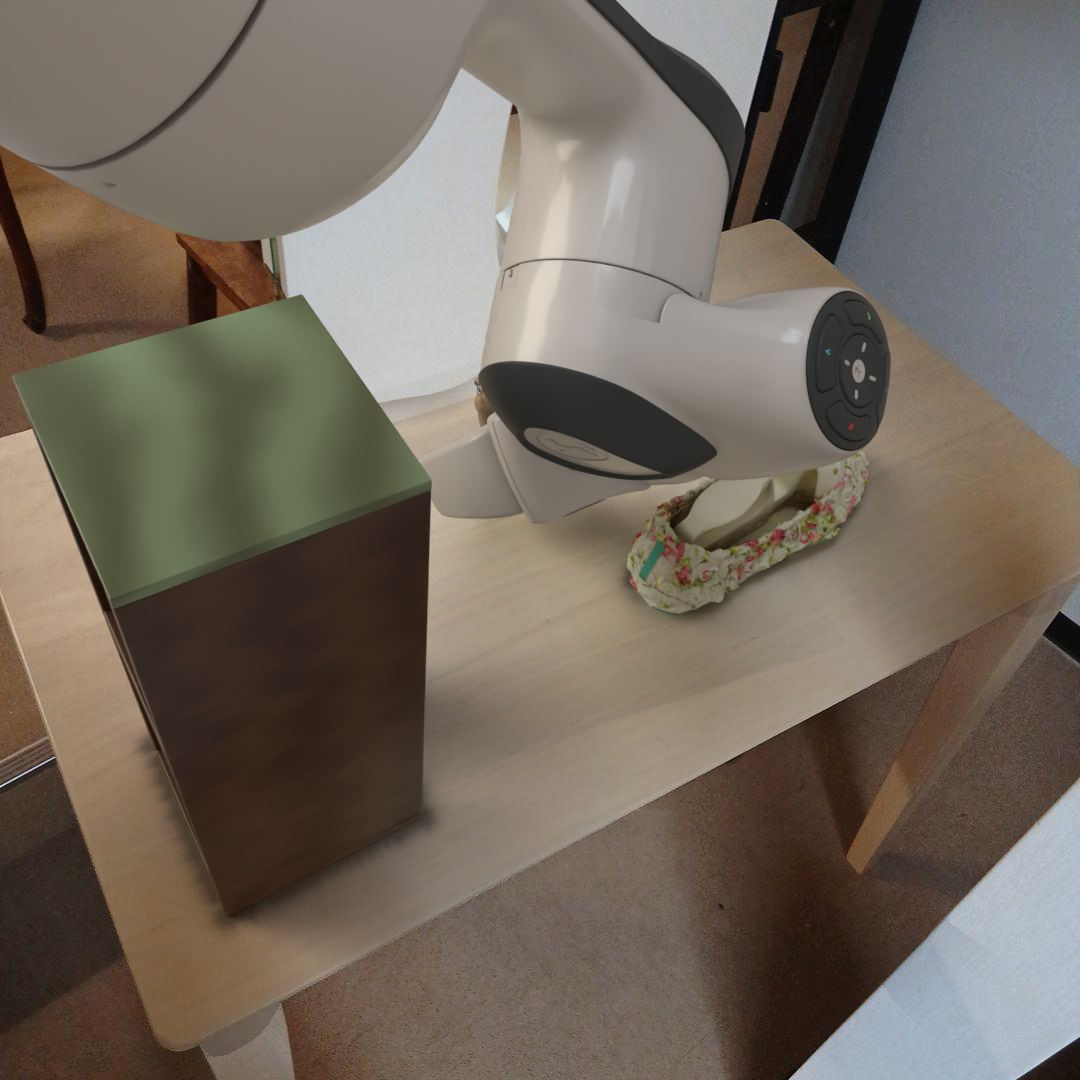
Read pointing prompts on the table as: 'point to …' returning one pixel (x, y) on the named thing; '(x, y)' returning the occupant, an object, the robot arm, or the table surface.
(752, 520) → the ballet flat
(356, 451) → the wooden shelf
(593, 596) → the table surface
